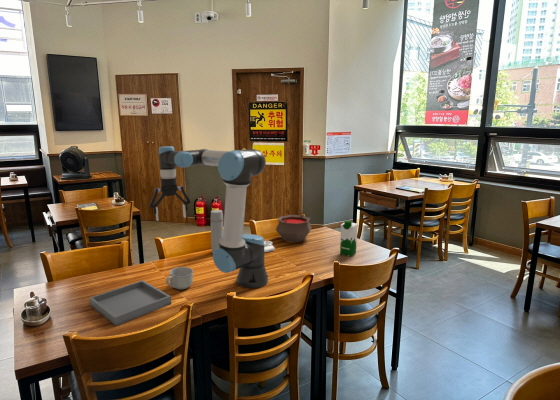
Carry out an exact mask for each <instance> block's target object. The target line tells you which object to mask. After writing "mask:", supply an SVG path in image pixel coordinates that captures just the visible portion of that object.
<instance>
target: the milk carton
mask: <svg viewBox="0 0 560 400" xmlns="http://www.w3.org/2000/svg"><path fill="white" fill-rule="evenodd" d="M358 226H359V224H358V223H357V222H356V223H355V222H352V220H344V222H343V223H341V224H340V245H339V249H340V250H339V252H340V253H339V254H340V255H342V254H343V256H347V255H349V256H348V257H352V256H354V255H355V254H356V253H357V243H358V242H357V241H358V240H357V239H358V238H357V237H358ZM354 253H355V254H354ZM353 254H354V255H353Z"/></svg>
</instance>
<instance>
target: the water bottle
mask: <svg viewBox="0 0 560 400" xmlns="http://www.w3.org/2000/svg"><path fill="white" fill-rule="evenodd" d="M223 230H224V213H223V210H221V209H214V210H211V211H210V241H211V243H210V244H211V253H212V254H213V252H214V251H215V250H216V249H217V248H219V241H220V239H221V238H223Z"/></svg>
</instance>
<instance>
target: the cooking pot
mask: <svg viewBox="0 0 560 400" xmlns="http://www.w3.org/2000/svg"><path fill="white" fill-rule="evenodd" d="M310 220H311V217H308V216H306V215H305V213H304V212H303V211H302V212H301V213H300V215H299V214H298V215H297V214H287V215H283V216H279V217H278V218H277V221H278V224H277V226H276V227H275V228H276V229H275V231H276V232H277V233H278V234H279V236H280V237H281V239H282V240H283V241H285V242H286V243H295V242H296V243H300V241H301V242H303V241H305V239H306V237H307V236H308V235H309V233H310V232H311V231H312V226H311V223H310Z"/></svg>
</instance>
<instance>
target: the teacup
mask: <svg viewBox="0 0 560 400" xmlns="http://www.w3.org/2000/svg"><path fill="white" fill-rule="evenodd" d="M193 280H194V269H193V268H191V267H187V266H178V267H174V268H172V269H170V270H169V276H167V277H166V278H165V283H166V284H167V285H168V286H170V287H172V288H174V289H176V290H181V291H182V290H185V289H186V290H187V289H188V288H189V287H190V286H192V284H193V283H194V281H193Z"/></svg>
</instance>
